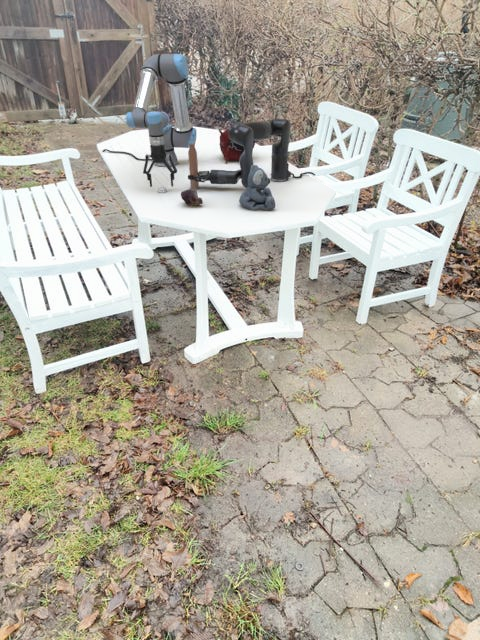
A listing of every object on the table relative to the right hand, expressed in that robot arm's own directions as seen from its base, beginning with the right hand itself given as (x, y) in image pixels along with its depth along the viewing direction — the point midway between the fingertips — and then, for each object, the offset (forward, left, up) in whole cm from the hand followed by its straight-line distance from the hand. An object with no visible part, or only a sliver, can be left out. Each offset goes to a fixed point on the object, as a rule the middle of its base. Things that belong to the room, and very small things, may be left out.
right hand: (189, 175), depth 250 cm
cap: (+16, +2, -5) cm, 17 cm away
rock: (+5, +27, -7) cm, 28 cm away
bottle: (-3, +1, -7) cm, 7 cm away
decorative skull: (-42, -50, -7) cm, 66 cm away
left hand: (+16, +2, -4) cm, 17 cm away
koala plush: (-27, +39, -7) cm, 48 cm away
